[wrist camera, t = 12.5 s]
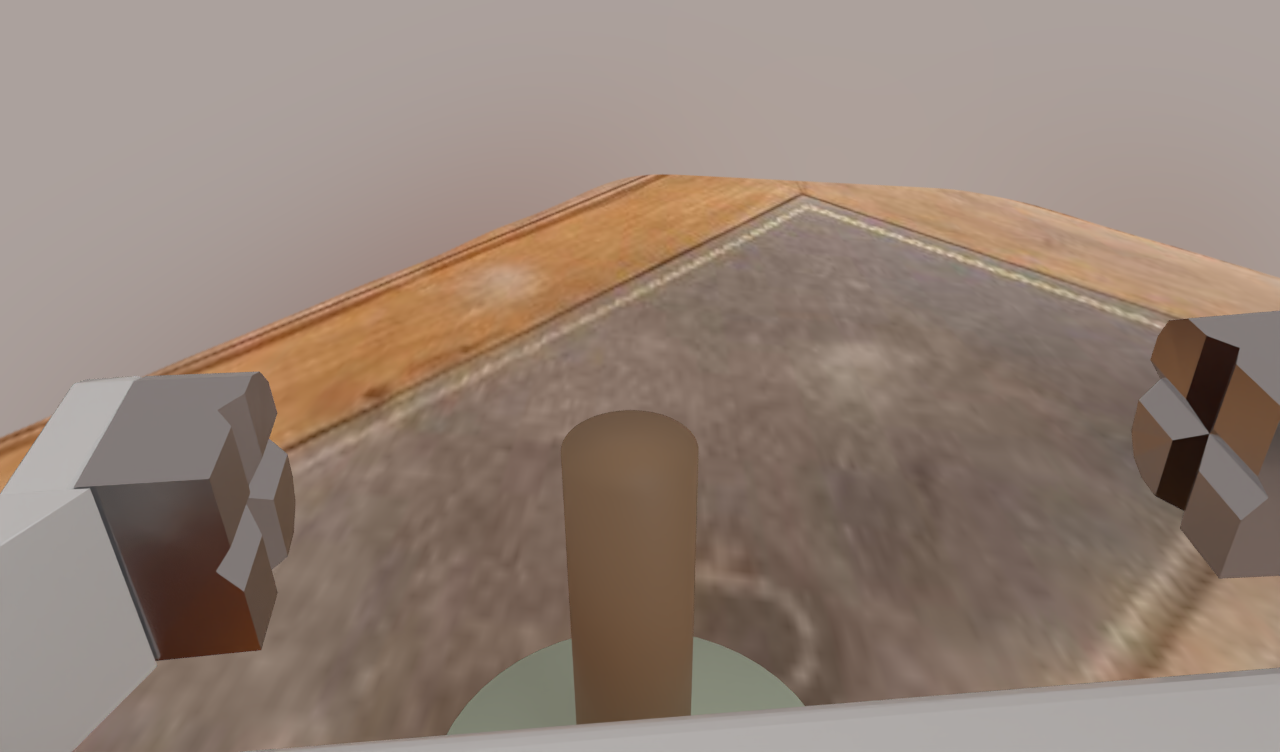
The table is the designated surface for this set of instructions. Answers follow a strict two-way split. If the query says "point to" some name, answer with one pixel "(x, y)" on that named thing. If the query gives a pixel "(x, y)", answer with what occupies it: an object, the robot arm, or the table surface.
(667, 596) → the peg stand
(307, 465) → the table surface
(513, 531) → the table surface
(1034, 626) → the table surface
